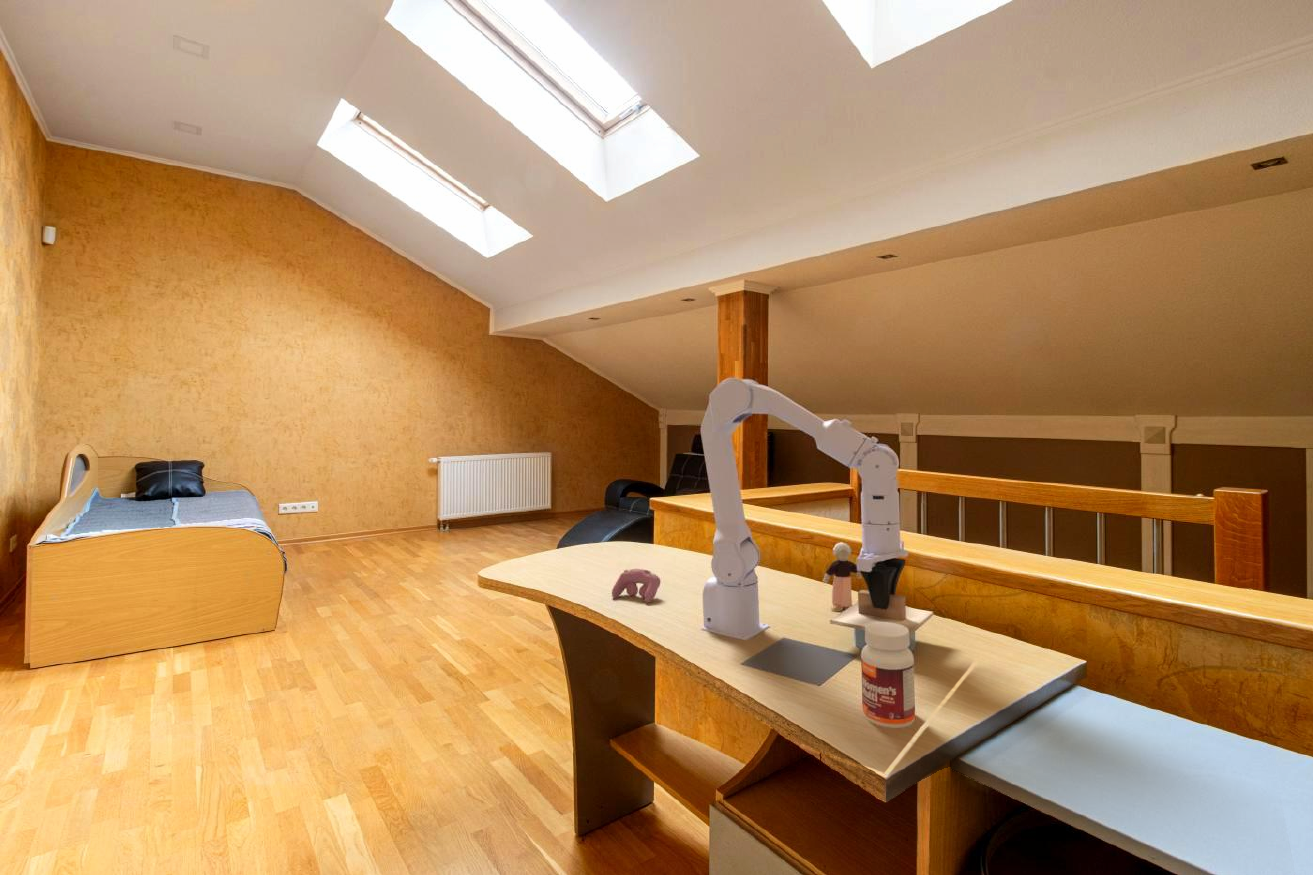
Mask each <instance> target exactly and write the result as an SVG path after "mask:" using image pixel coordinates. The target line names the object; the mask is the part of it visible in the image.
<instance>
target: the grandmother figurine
mask: <svg viewBox="0 0 1313 875" xmlns="http://www.w3.org/2000/svg"><path fill="white" fill-rule="evenodd" d="M832 551H833V553H832V554H833V555H835V558H836V560H834V561H832V563H831V564H830V565H829V567H828V568H827V570H826V571H825V573H824V576H823V577H824V578H823V579H822V582H823V583H824V584H828V583H829V581H830V578H831V577H832V576H833V581H832V589H831V590H832V591H831V604H832V605H831V606H830V610H831V611H833V612H841V611H843V609H844V610H846V609H848V608H849V607H851V606H852V605H853V599H852V576H851V573H853V574H854V575H855V577H856V579H862V578H863V576H862V574H861V573H860V571H858V570H857V563H855V562H853V561H850V560H849V558H850V555H851V552H852V548H851V547H850V545H849V544H847V543H846V542H845V543H844V542H837V543H836V544H835V545H834V547H833V548H832Z"/></svg>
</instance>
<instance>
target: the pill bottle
mask: <svg viewBox="0 0 1313 875" xmlns="http://www.w3.org/2000/svg"><path fill="white" fill-rule="evenodd" d="M865 642H866V643H867V645H866V646H864V647H863V649H861V651H860V652H861V653H860V661H861V695H862V696H861V704H862V709H861V710H862V715H863V717H864V718H865V719H866V720H867V721H869V722H870V723H873V724H874V725H877V726H880V727H885V728H892V729H894V728H895V729H897V728H898V729H899V728H906V727H909V726H911V725H912V724H913V723H915V720H916V704H915V703H916V698H915V697H916V693H915V690H916V689H915V659H914V657H915V656H914V654H913V652H911V651H910V650H909V649H908V648H907V647H909V645H910V640H909V630H908V628H906V627H905V626H903V625H900V624H896V623H890V622H875V623H870V624H868V625H866V627H865Z"/></svg>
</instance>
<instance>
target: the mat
mask: <svg viewBox="0 0 1313 875" xmlns="http://www.w3.org/2000/svg"><path fill="white" fill-rule="evenodd" d="M858 656H859V654H855V653H851V652H848V651H843V650H839V649H835V648H830V647H826V646H821V645H818V644H813V643H809V642H804V641H801V640H795V639H791V638H789V637H788V638H787V637H782V638H781V639H778V640H776V641H775V642H774V643H772V644H771V645H769V646H767V647H766V648H764V649H762V650H761V651H759V652H756V653H755V654H754V655H752V656H751V657H749V658H748V659H746V660H744V661H743V662H741V663H740V665H742V666H746V667H750V668H752V669H757V670H760V671H763V672H768V673H771V674H775V675H778V676H783V677H786V678H789V679H793V680H795V681H800V682H803V683H807V684H810V685H814V686H817V687H820V686H822V685H823V684H824V683H826V682H827V681H828V680H829V679H830V678H832V677H833V676H834V675H836V674H838V672H839V671H840V670H842V669H843V668H844V667H845V666H847V665H848V664H850V663H851V662H852V661H853V660H854V659H855V658H857V657H858Z"/></svg>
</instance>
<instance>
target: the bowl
mask: <svg viewBox="0 0 1313 875" xmlns="http://www.w3.org/2000/svg"><path fill="white" fill-rule="evenodd" d="M909 640H910V645H909V647H907V648H908V649H909V650H910V651H911V652H912V651H913V652H914V650H915V649H916V648H917V647H916V631H915V632H914V633H913V634H912V635H910V636H909ZM853 642H854V645H855V647H857V648H859V649H860V650H862V649H863V647H864V646H866V645H867V643H866V642H865V630H861V629H855V628H853ZM913 652H912V653H913Z"/></svg>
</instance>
